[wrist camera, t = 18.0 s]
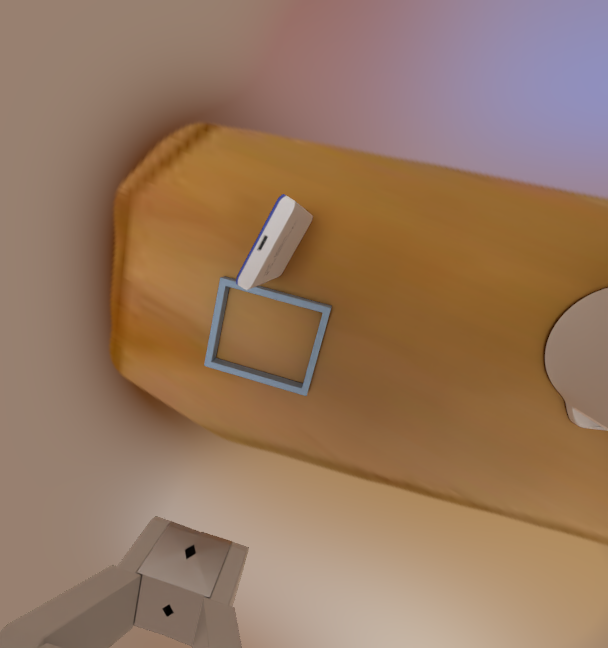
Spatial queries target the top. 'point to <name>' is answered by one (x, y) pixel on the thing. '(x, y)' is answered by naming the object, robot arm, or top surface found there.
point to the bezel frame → (249, 372)
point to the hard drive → (275, 243)
